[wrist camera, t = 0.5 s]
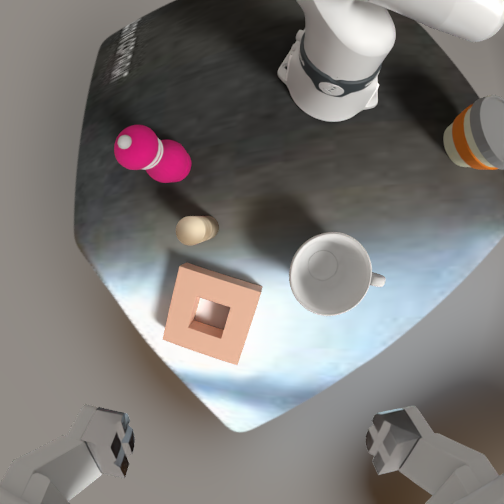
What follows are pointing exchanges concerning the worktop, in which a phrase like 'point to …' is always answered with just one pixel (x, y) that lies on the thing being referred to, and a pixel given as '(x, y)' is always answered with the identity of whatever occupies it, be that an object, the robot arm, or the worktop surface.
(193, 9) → the worktop surface
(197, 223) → the maple pin
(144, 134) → the pepper mill
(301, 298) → the teacup
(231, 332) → the socket block
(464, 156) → the reusable coffee cup
